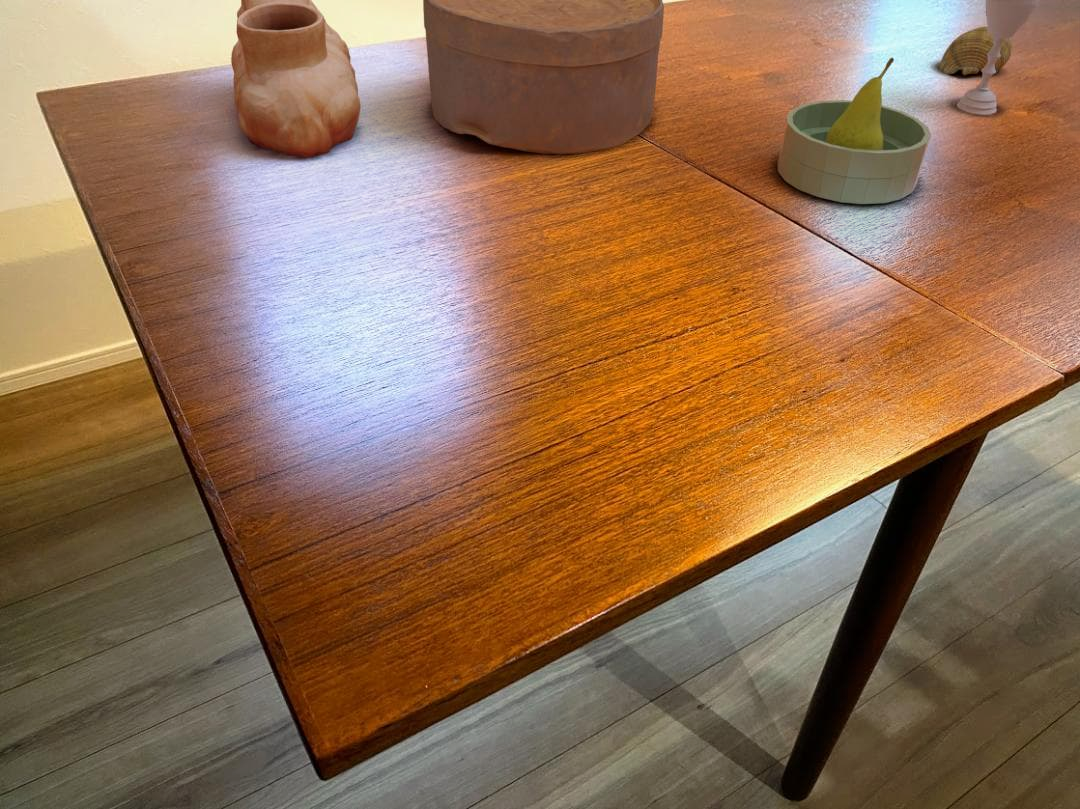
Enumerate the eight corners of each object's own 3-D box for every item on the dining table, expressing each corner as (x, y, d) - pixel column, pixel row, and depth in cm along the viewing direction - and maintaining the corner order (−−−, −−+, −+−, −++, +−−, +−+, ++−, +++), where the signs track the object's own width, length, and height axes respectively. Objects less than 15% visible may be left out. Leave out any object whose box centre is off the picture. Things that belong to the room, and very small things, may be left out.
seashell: (951, 108, 123) (1000, 75, 116) (920, 68, 122) (967, 32, 115) (981, 78, 127) (1030, 44, 120) (951, 39, 127) (998, 3, 120)
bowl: (904, 158, 99) (919, 105, 95) (922, 215, 88) (940, 158, 84) (775, 147, 101) (785, 95, 97) (777, 202, 90) (789, 145, 86)
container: (475, 175, 93) (472, 25, 84) (398, 96, 113) (389, -32, 104) (699, 142, 103) (718, 4, 94) (592, 75, 122) (599, -44, 113)
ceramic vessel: (343, 78, 117) (327, -46, 107) (376, 156, 97) (360, 12, 88) (234, 88, 113) (209, -40, 104) (246, 170, 94) (216, 23, 85)
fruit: (809, 174, 94) (834, 59, 86) (834, 158, 97) (861, 46, 90) (859, 191, 91) (890, 72, 83) (884, 173, 94) (915, 58, 87)
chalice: (956, 95, 115) (1003, -57, 104) (1011, 107, 112) (1066, -49, 101) (940, 112, 110) (987, -46, 99) (996, 125, 107) (1052, -37, 96)
